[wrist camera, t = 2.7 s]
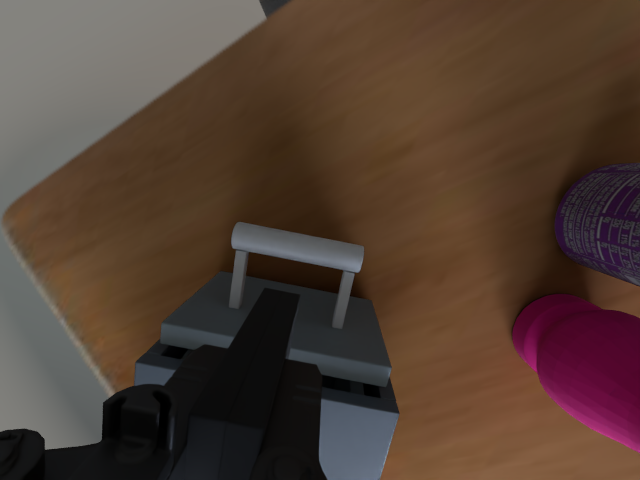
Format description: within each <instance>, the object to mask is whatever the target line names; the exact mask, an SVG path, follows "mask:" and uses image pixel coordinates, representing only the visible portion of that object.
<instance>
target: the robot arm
mask: <svg viewBox="0 0 640 480" xmlns="http://www.w3.org/2000/svg"><path fill="white" fill-rule="evenodd" d="M300 296H301V295H300V294H295V293H290V292H285V291H280V290H275V289H270V288H264V290H263V291H262V293H261V294H260V296H259V298H258V299H257V301H256V303H255V304H254V306H253V308H252V309H251V311H250V313H249V314H248V316H247V318H246V319H245V321H244V323H243V324H242V326H241V328H240V329H239V331H238V333H237V334H236V336H235V338H234V339H233V341H232V343H231V344H230V346H229V348H222V347H217V346H212V345H207V344H204V345H202V346H200V347H199V348H197V349H195V350H194V351H192V352H190V353H189V355H188V356H187V357H186V358H185V360H184V361H183V362H182V363H181V366H180V367H178V368H177V370H176V371H175V372H174V373H173V375H172V377H170V378H169V380H168V381H167V382H166V383H165V385H164V386H163V385H160V384H142V385H137V386H132V387H129V388H126V389H124V390H122V391H120V392H117V393H115V394H114V395H113V396H111V397H110V398H109V399H107V400H106V401H105V402H103V424H102V440H101V441H100V442H99V443H96V444H91V445H85V446H78V447H68V448H59V449H49V450H45V440H44V438H43V437H42V436H41V435H40V434H39V433H38V432H36V431H32V430H28V429H15V430H5V431H2V432H0V480H328V479H327V477H326V476H325V474H324V472H323V470H322V467H321V464H320V461H319V438H320V418H321V399H322V379H323V377H322V375H321V373H320V371H319V369H318V367H317V365H316V364H311V363H306V362H300V361H295V360H290V359H288V358H289V354H290V349H291V343H292V338H293V333H294V327H295V322H296V317H297V311H298V306H299V301H300Z"/></svg>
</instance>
